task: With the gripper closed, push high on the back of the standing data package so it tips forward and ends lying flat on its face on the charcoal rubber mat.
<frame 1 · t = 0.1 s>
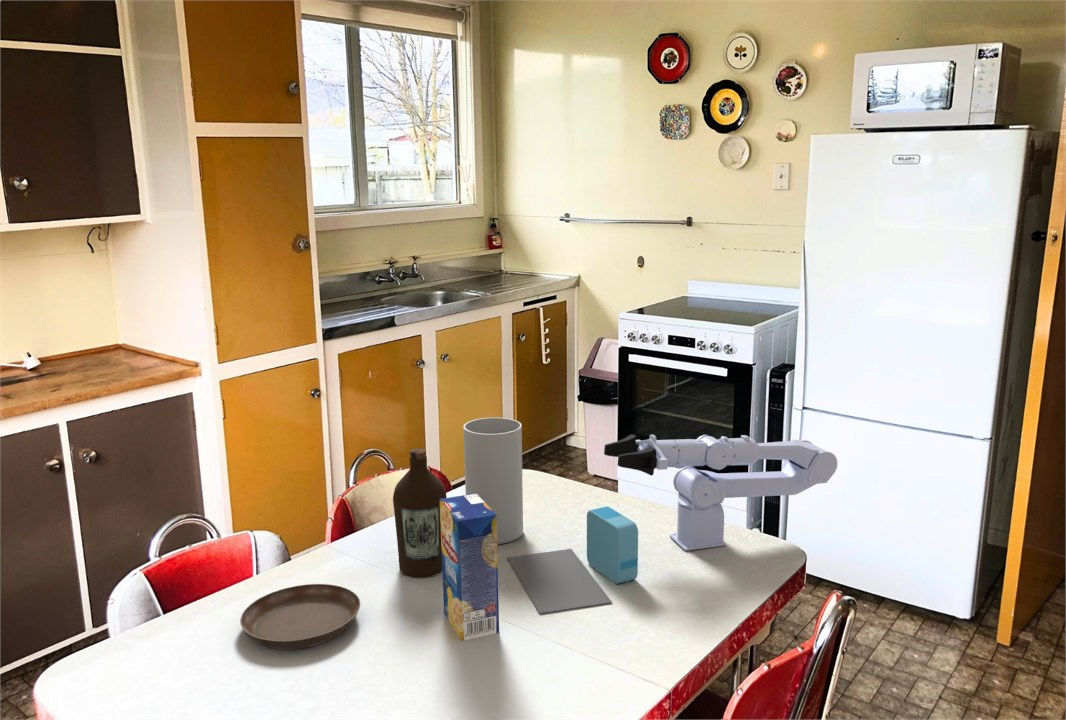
hand: (611, 455, 176), 22 cm above the table, tool horizontal, fingers open, 7 cm apart
cylinder vase: (495, 534, 191), on the table
beverage box: (470, 623, 154), on the table
data package: (611, 573, 172), on the table
olive oil: (422, 568, 175), on the table
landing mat: (556, 579, 169), on the table
plant saucer: (302, 627, 154), on the table
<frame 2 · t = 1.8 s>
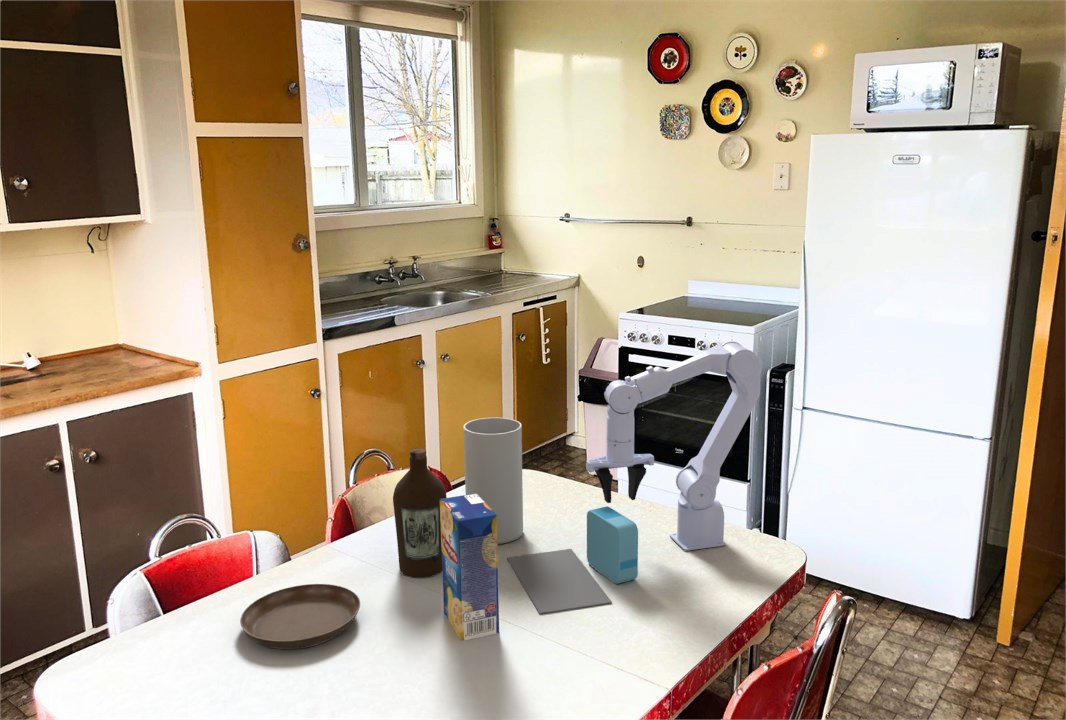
hand: (619, 499, 182), 10 cm above the table, tool pointing down, fingers open, 5 cm apart
nothing on the table moved.
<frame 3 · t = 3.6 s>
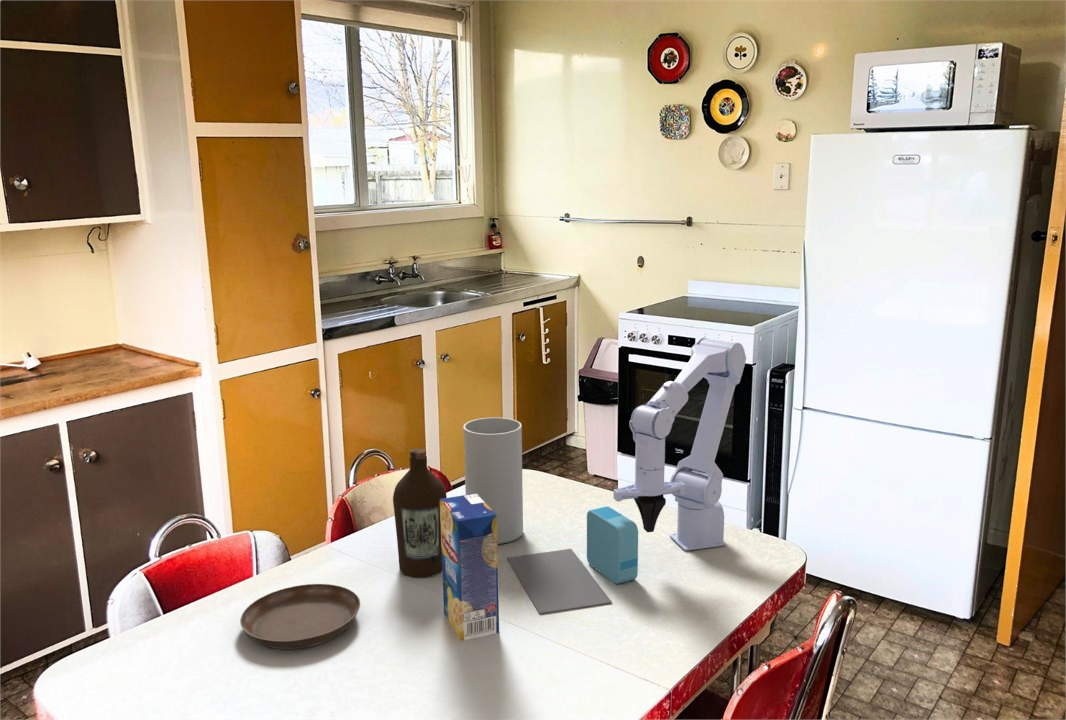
hand: (648, 530, 173), 8 cm above the table, tool pointing down, fingers closed
nothing on the table moved.
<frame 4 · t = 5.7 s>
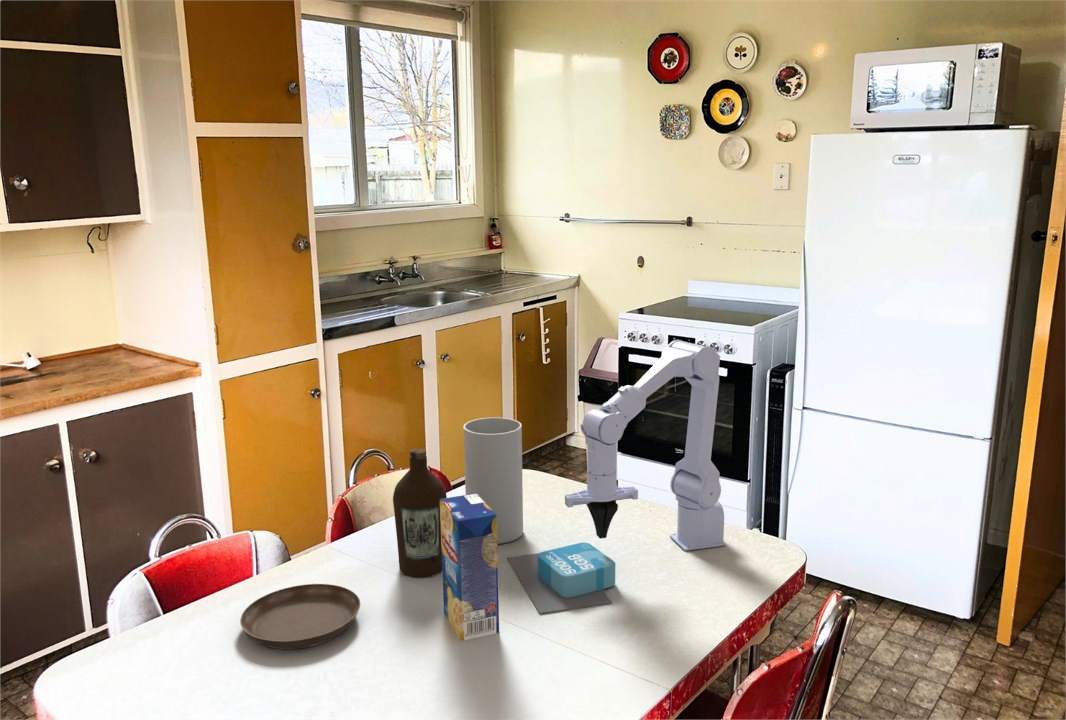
hand: (601, 536, 170), 8 cm above the table, tool pointing down, fingers closed
data package: (603, 562, 171), point 3 cm above the table, touching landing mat
everything else where it was.
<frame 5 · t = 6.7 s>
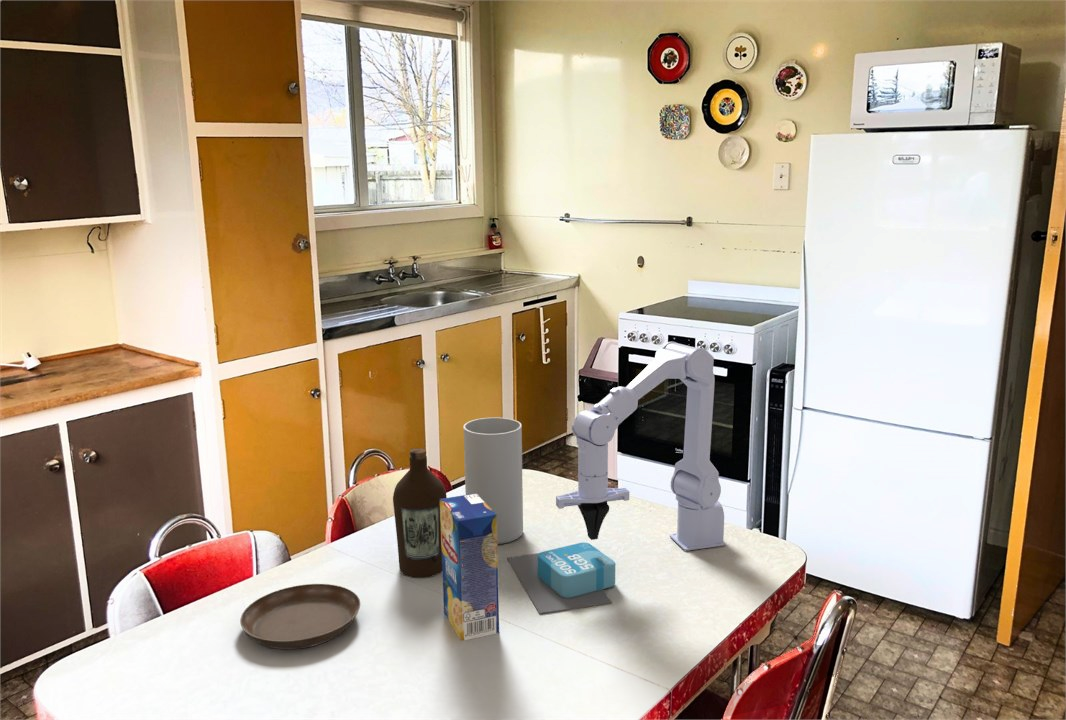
hand: (592, 537, 170), 8 cm above the table, tool pointing down, fingers closed
nothing on the table moved.
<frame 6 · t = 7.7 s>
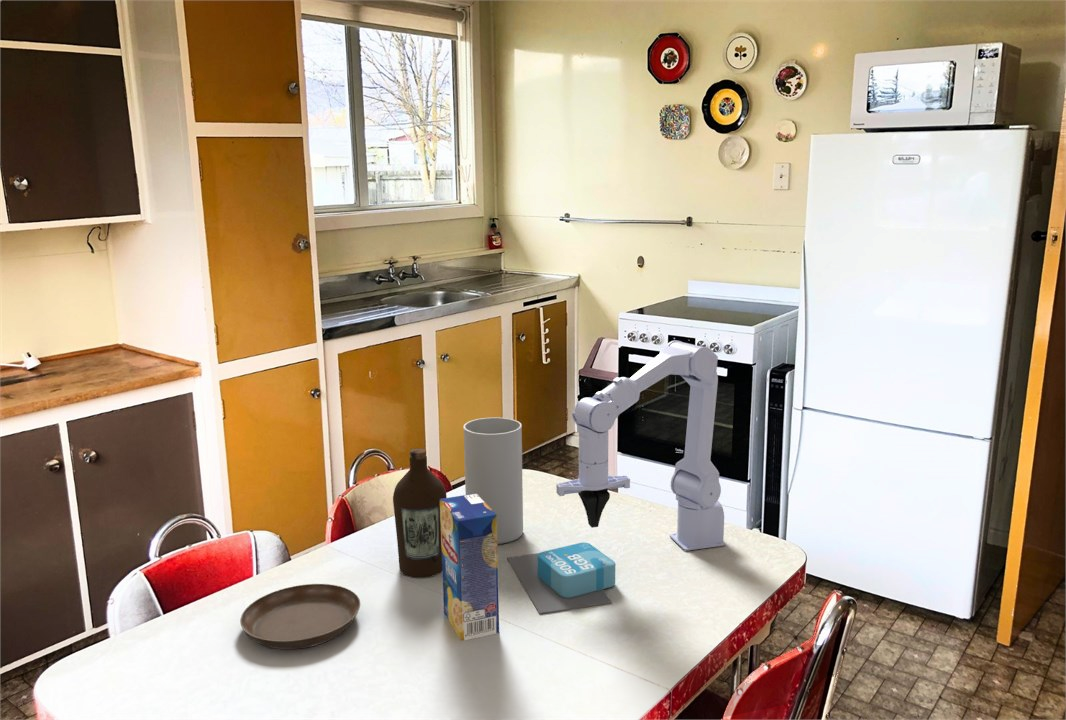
hand: (593, 525, 169), 10 cm above the table, tool pointing down, fingers closed
nothing on the table moved.
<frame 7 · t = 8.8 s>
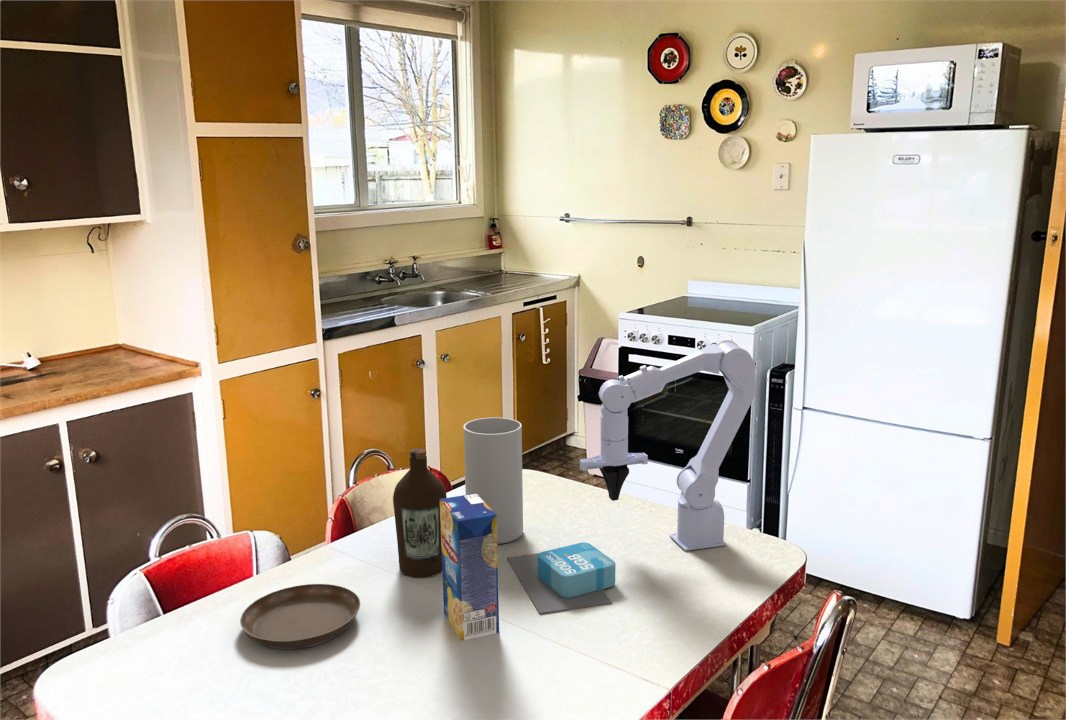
hand: (613, 498, 183), 10 cm above the table, tool pointing down, fingers closed
nothing on the table moved.
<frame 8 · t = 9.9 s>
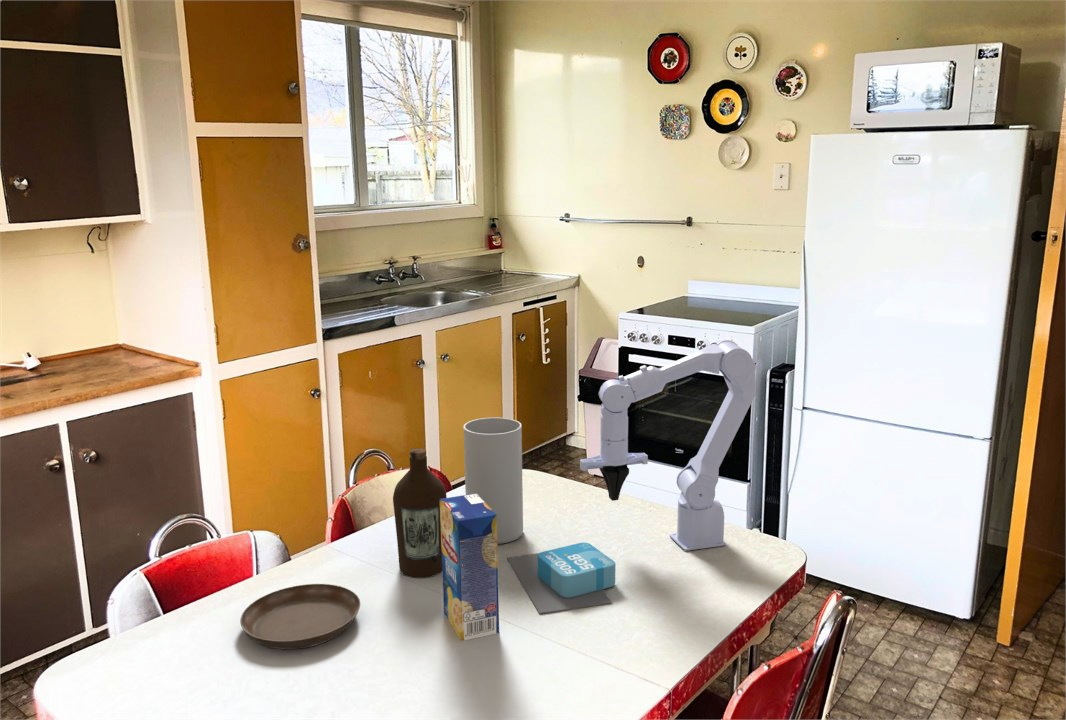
hand: (613, 498, 183), 10 cm above the table, tool pointing down, fingers closed
nothing on the table moved.
at the end: data package tilted 90°; data package inside the target area (5.0 cm from its centre), point 2.6 cm above the table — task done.
